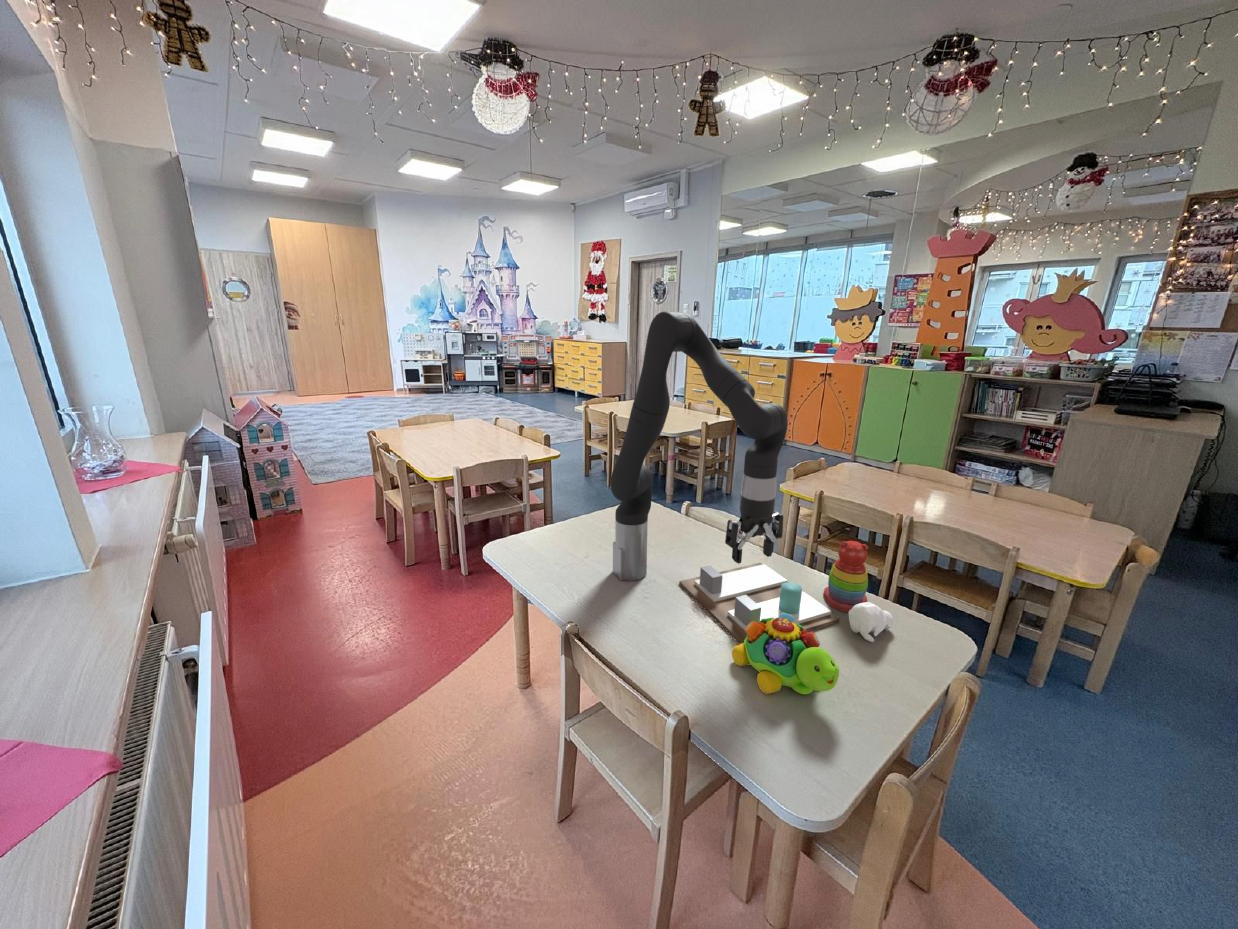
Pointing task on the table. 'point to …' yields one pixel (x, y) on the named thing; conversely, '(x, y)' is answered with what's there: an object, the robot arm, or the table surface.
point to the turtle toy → (786, 656)
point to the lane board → (722, 607)
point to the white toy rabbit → (869, 619)
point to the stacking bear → (848, 577)
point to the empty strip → (736, 581)
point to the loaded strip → (774, 610)
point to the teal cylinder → (790, 598)
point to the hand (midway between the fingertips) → (752, 558)
